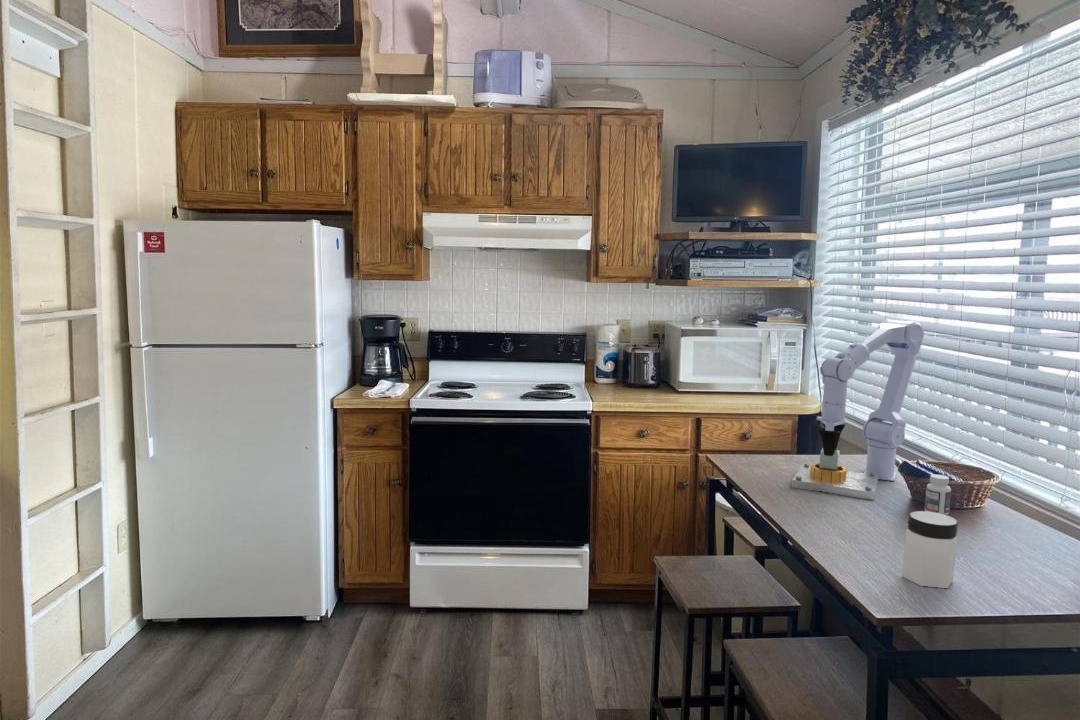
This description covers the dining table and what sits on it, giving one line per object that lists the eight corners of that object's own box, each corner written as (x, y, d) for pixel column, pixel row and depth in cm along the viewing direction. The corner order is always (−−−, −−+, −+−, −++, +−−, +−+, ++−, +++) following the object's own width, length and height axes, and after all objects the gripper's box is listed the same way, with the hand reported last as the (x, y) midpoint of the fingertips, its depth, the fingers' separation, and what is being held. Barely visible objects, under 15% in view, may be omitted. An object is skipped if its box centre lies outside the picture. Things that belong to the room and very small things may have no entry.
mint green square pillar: (820, 473, 205) (822, 443, 204) (837, 475, 203) (840, 446, 202) (818, 477, 201) (820, 447, 200) (836, 479, 199) (838, 449, 198)
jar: (909, 566, 147) (915, 507, 145) (956, 578, 142) (962, 517, 140) (897, 580, 140) (902, 518, 139) (945, 593, 135) (951, 529, 133)
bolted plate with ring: (801, 471, 214) (802, 455, 213) (877, 482, 205) (879, 466, 204) (791, 487, 198) (792, 470, 197) (873, 500, 189) (875, 482, 188)
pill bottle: (943, 509, 183) (946, 474, 182) (952, 516, 178) (956, 480, 177) (920, 508, 183) (924, 472, 182) (929, 515, 178) (933, 479, 177)
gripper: (821, 396, 207) (817, 444, 209) (814, 405, 195) (810, 456, 196) (849, 399, 204) (845, 448, 206) (843, 408, 191) (839, 459, 193)
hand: (830, 452), depth 201 cm, fingers open, 7 cm apart
